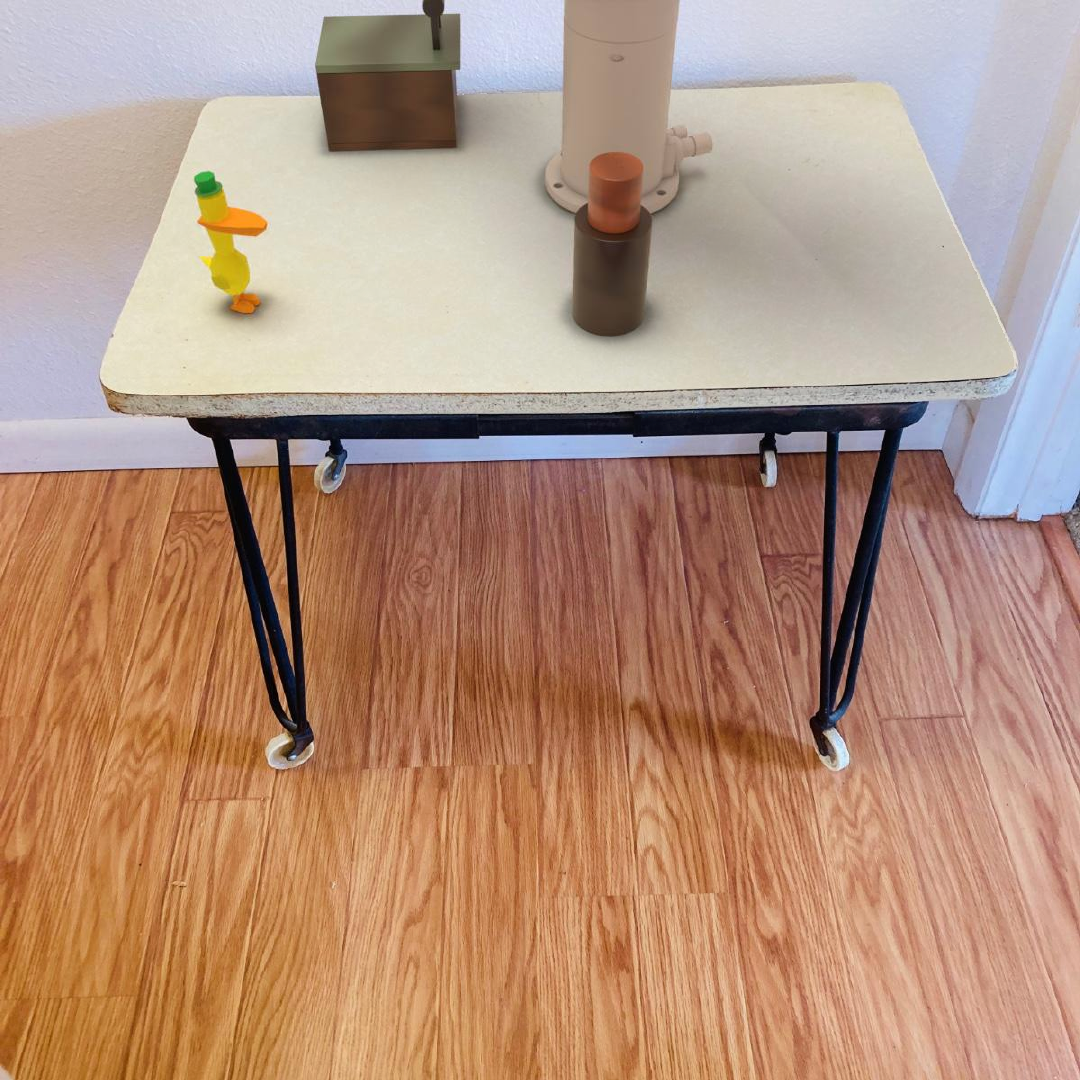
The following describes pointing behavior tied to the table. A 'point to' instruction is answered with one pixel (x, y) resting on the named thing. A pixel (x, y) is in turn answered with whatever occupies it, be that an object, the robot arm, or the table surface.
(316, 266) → the table surface
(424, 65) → the lid
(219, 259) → the toy figure
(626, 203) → the peg
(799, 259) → the table surface
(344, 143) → the brown wooden open box
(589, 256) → the peg stand
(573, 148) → the robot arm
